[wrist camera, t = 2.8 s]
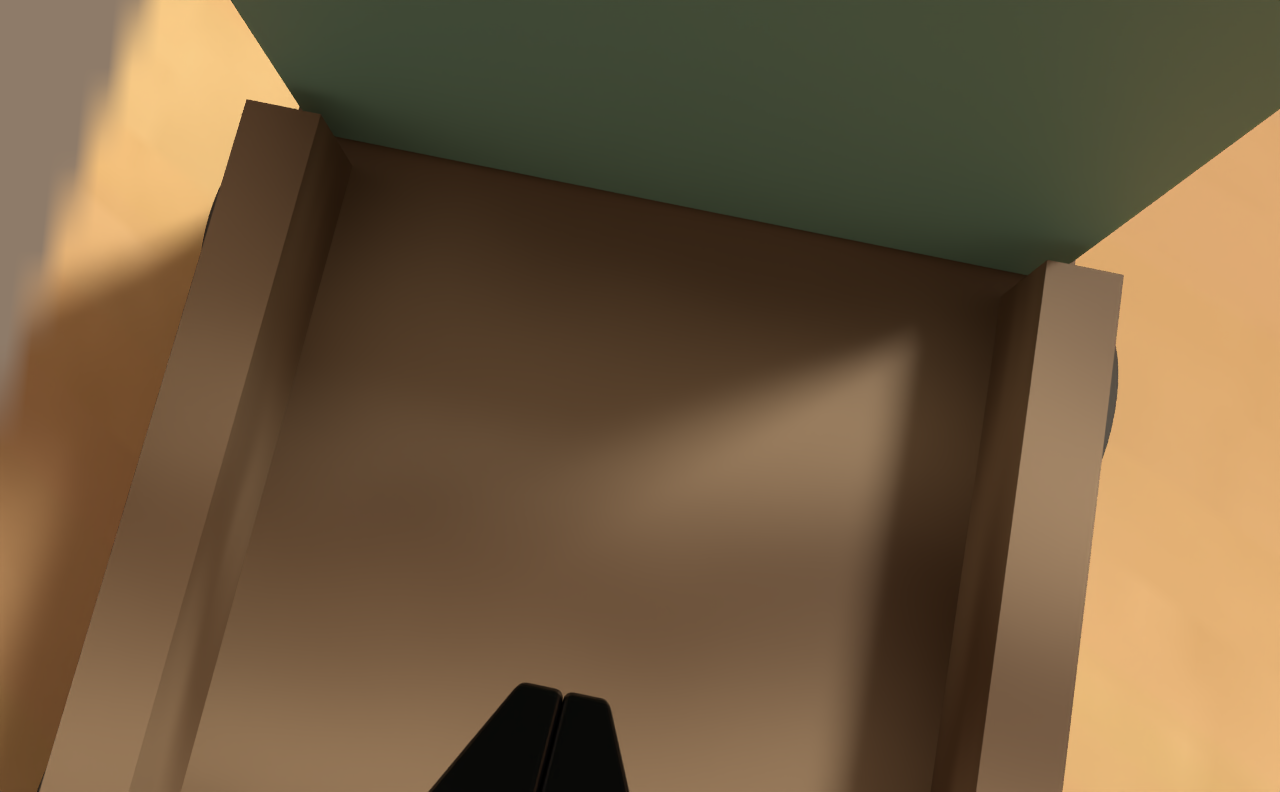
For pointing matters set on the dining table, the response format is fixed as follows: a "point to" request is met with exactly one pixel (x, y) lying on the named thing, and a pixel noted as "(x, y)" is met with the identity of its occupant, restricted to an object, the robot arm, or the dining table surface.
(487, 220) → the cart
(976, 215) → the panel
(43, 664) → the dining table surface
